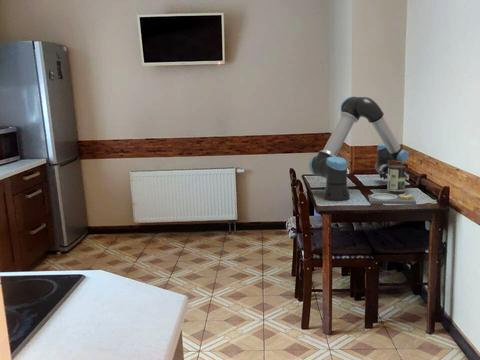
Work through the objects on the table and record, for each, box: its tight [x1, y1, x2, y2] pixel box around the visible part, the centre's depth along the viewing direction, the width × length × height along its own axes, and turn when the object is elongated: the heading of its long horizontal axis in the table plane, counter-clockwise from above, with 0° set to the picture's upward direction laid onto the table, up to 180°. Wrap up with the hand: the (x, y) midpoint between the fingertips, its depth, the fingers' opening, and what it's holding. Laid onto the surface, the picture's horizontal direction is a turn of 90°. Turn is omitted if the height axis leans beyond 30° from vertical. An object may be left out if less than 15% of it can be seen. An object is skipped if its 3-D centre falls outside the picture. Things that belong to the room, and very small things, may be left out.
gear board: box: [367, 192, 417, 205], centre depth 259 cm, size 24×14×4 cm, turn 80°
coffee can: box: [386, 164, 407, 192], centre depth 274 cm, size 10×10×14 cm
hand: (398, 178), depth 270 cm, fingers closed on coffee can, 10 cm apart
